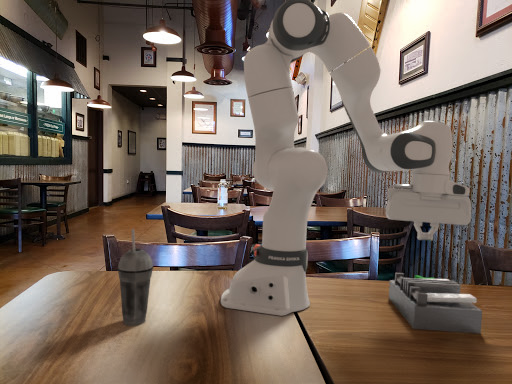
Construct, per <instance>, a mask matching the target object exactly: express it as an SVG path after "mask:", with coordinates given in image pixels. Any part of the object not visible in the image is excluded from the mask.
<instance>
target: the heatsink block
mask: <svg viewBox="0 0 512 384" xmlns="http://www.w3.org/2000/svg"><path fill="white" fill-rule="evenodd" d="M399 276H402V277H403V278H400V284H399V283H398V282H397V277H399ZM448 280H449V279H448ZM448 280H431V279H415V277H414V278H410V277H405V273H403V272H395V275H394V279H392V280H391V279H389V286H388V287H389V289H388V299H389V301H391V303H392V304H393V306H394V307H395V308H396V309H397V311H398V312H399V313H400V314H401V315H402V317H403V318H404V319H405V320H406V321H407V323H408V324H409V325H410V327H412V329H414V330H427V331H440V332H451V333H452V332H453V333H465V334H466V333H468V334H481V332H482V319H483V318H482V317H483V310H482V309H480V308H479V307H477V306H476V305H475V304H474V303H459V302H427V297H428V294H426V293H444V294H461V284H458V282H456V281H455V280H450V281H448ZM415 290H417V291H419V292H420V293H417V295H416V299H415V298H414V297H413V296H412V292H413V291H415Z"/></svg>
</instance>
